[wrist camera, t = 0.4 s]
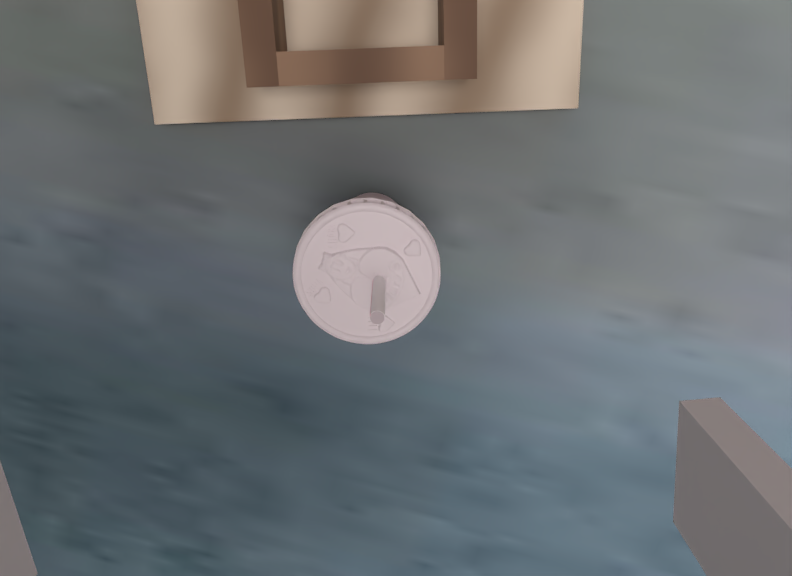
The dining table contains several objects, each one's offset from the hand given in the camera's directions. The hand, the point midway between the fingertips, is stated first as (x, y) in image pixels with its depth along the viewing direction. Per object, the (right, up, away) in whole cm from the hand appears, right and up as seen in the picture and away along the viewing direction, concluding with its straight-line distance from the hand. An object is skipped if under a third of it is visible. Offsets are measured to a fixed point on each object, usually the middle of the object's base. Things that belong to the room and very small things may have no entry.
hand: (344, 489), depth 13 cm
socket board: (-1, +20, +20) cm, 28 cm away
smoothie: (0, +8, +24) cm, 25 cm away
